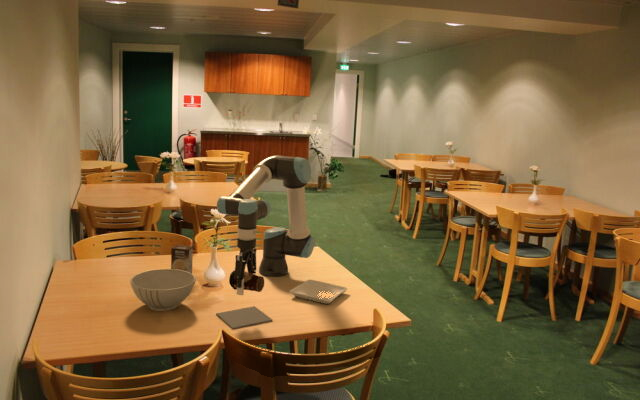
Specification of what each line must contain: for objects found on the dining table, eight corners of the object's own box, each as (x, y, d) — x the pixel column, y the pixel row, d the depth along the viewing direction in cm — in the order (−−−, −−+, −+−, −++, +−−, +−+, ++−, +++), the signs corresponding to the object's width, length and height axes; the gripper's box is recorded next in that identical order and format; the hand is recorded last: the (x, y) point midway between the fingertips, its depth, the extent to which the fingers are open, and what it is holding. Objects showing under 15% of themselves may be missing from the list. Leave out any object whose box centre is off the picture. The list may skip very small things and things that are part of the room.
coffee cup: (266, 270, 231) (238, 265, 236) (256, 276, 223) (228, 270, 228) (265, 291, 233) (237, 285, 237) (255, 297, 225) (227, 291, 230)
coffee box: (170, 279, 273) (170, 248, 270) (174, 275, 279) (175, 244, 276) (188, 281, 272) (188, 249, 269) (192, 277, 278) (193, 246, 275)
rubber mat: (254, 307, 245) (254, 306, 245) (272, 320, 232) (272, 319, 232) (216, 314, 235) (216, 313, 235) (232, 329, 222) (232, 327, 222)
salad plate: (348, 293, 269) (348, 286, 269) (329, 308, 251) (330, 300, 250) (308, 285, 278) (308, 278, 277) (288, 298, 259) (288, 291, 259)
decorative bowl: (136, 322, 224) (136, 293, 221) (125, 298, 247) (125, 272, 245) (202, 313, 236) (203, 285, 234) (186, 291, 259) (186, 266, 257)
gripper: (242, 245, 216) (240, 301, 221) (266, 233, 235) (264, 285, 240) (225, 242, 219) (224, 297, 223) (250, 231, 238) (248, 282, 242)
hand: (244, 291), depth 231 cm, fingers closed on coffee cup, 7 cm apart
